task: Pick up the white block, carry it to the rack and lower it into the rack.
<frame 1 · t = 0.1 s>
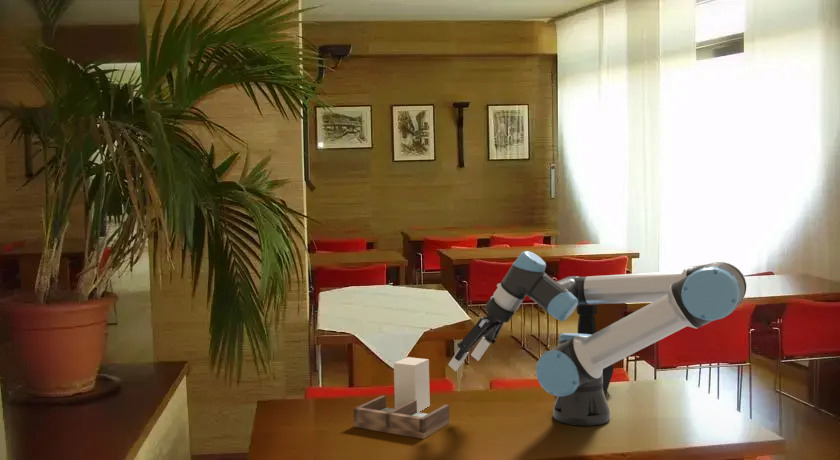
hand: (463, 362, 206), 15 cm above the table, fingers open, 13 cm apart
rack: (402, 425, 201), on the table
bottle: (587, 390, 232), on the table
white block: (412, 408, 216), on the table
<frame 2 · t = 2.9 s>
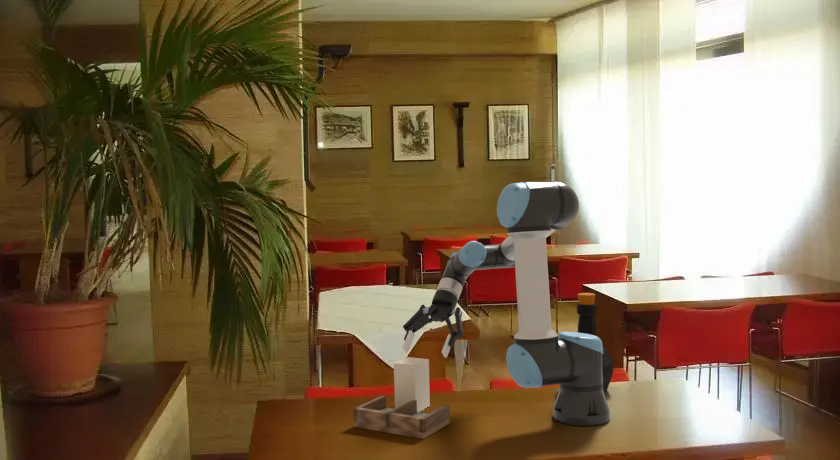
hand: (424, 352, 223), 14 cm above the table, fingers open, 13 cm apart
nothing on the table moved.
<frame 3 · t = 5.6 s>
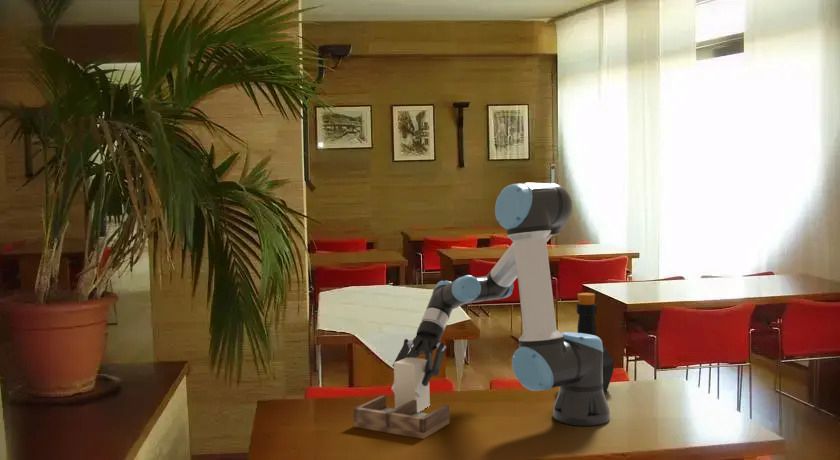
hand: (405, 392, 213), 6 cm above the table, fingers closed on white block, 7 cm apart
white block: (412, 408, 216), on the table, touching gripper
everything else where it was.
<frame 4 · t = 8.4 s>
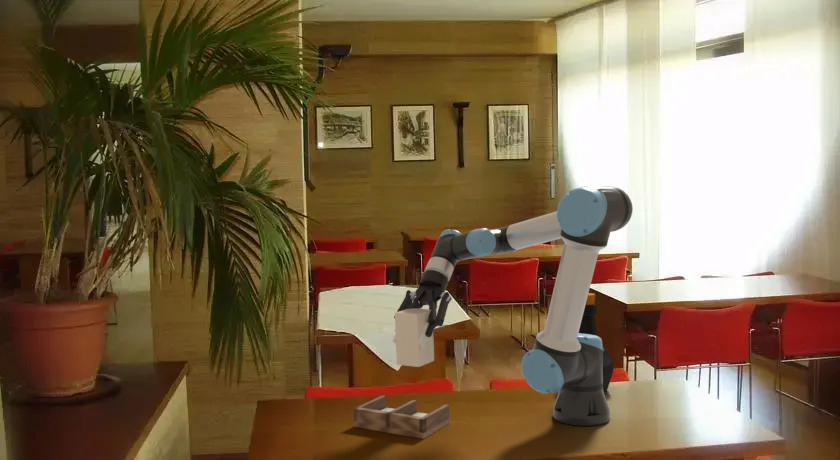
hand: (408, 344, 198), 22 cm above the table, fingers closed on white block, 7 cm apart
white block: (415, 362, 202), point 17 cm above the table, touching gripper
everything else where it was.
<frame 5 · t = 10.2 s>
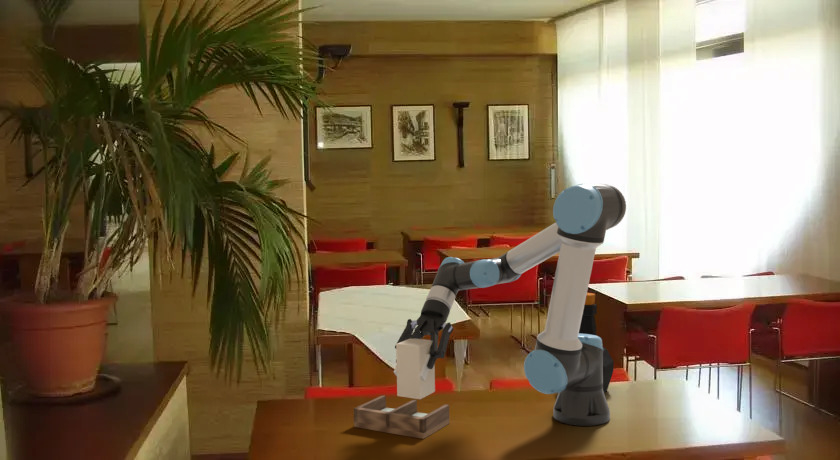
hand: (409, 376, 196), 14 cm above the table, fingers closed on white block, 7 cm apart
white block: (416, 393, 200), point 9 cm above the table, touching gripper
everything else where it was.
when the fingers open (8 cm above the table, at t = 11.7 s): white block drops 1 cm, resting on rack.
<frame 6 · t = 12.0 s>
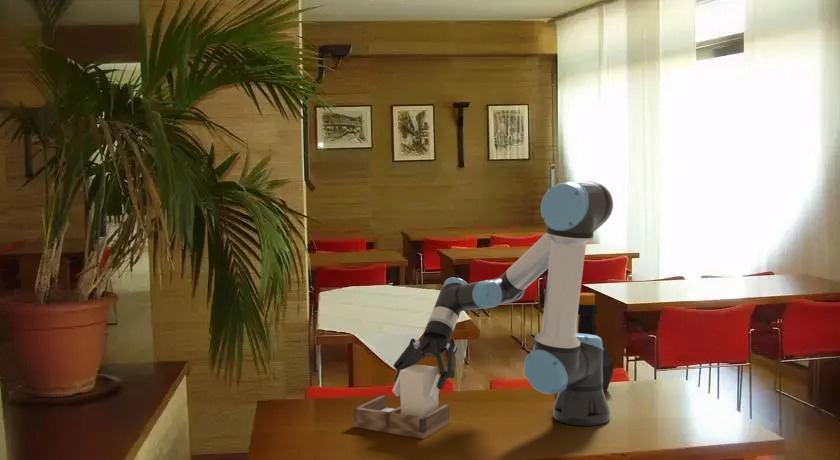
hand: (413, 396, 197), 9 cm above the table, fingers open, 10 cm apart
white block: (420, 420, 199), point 2 cm above the table, touching rack
everything else where it was.
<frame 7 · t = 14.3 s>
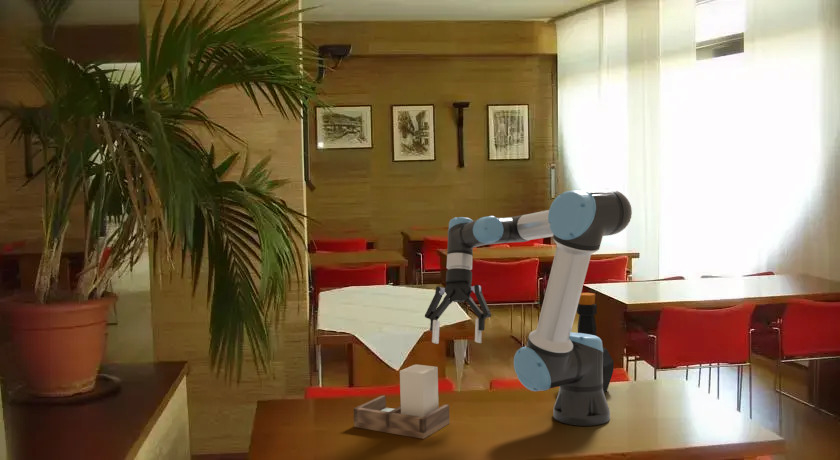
hand: (456, 342, 213), 19 cm above the table, fingers open, 13 cm apart
nothing on the table moved.
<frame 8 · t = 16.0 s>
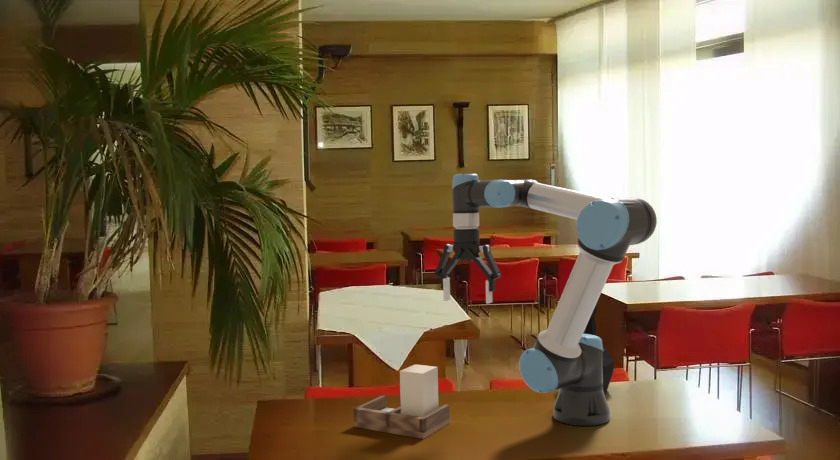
hand: (467, 301, 215), 31 cm above the table, fingers open, 13 cm apart
nothing on the table moved.
at the end: white block inside the target area on the rack (0.3 cm from its centre), point 1.7 cm above the rack's base; white block tilted 0°; the gripper is holding nothing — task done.
